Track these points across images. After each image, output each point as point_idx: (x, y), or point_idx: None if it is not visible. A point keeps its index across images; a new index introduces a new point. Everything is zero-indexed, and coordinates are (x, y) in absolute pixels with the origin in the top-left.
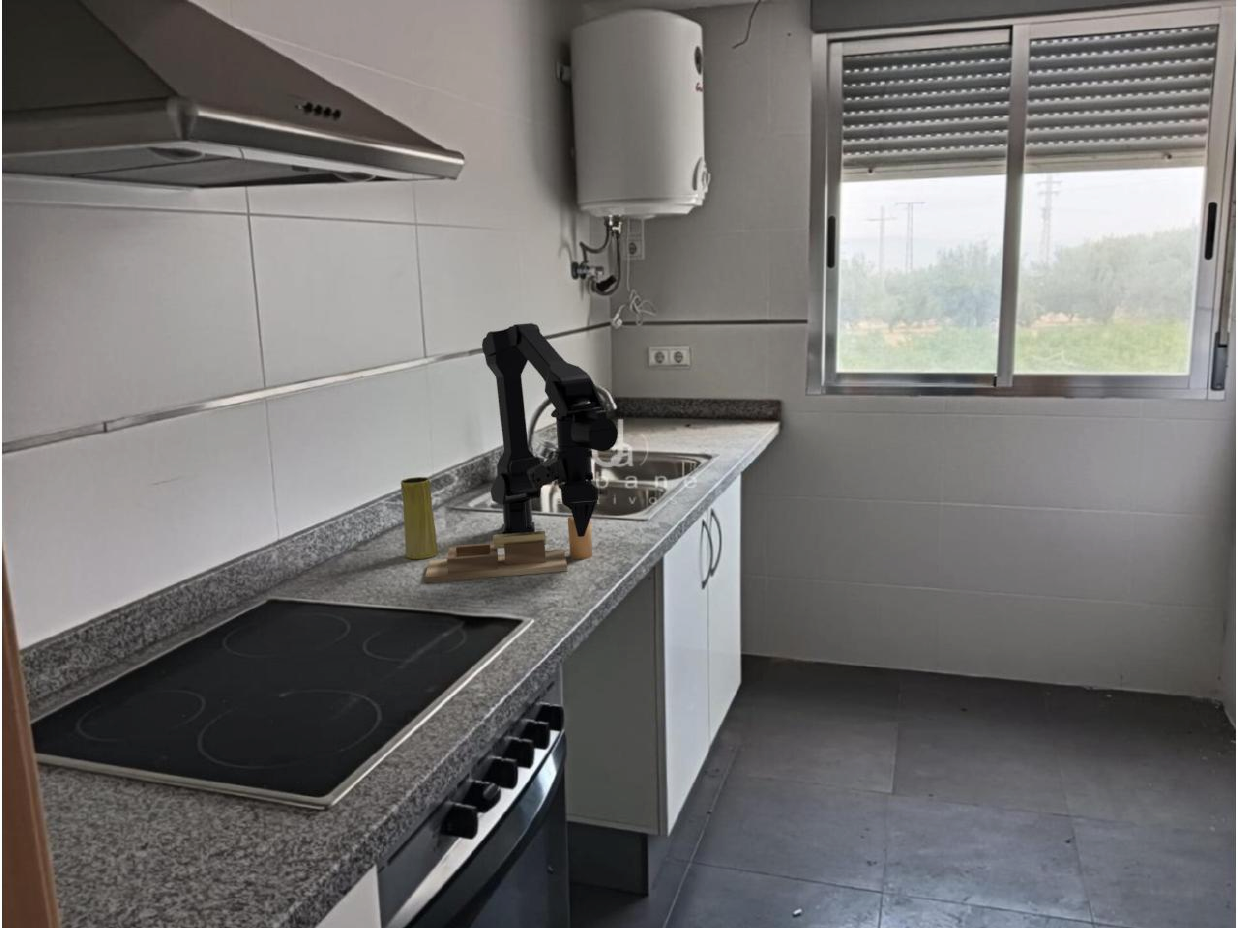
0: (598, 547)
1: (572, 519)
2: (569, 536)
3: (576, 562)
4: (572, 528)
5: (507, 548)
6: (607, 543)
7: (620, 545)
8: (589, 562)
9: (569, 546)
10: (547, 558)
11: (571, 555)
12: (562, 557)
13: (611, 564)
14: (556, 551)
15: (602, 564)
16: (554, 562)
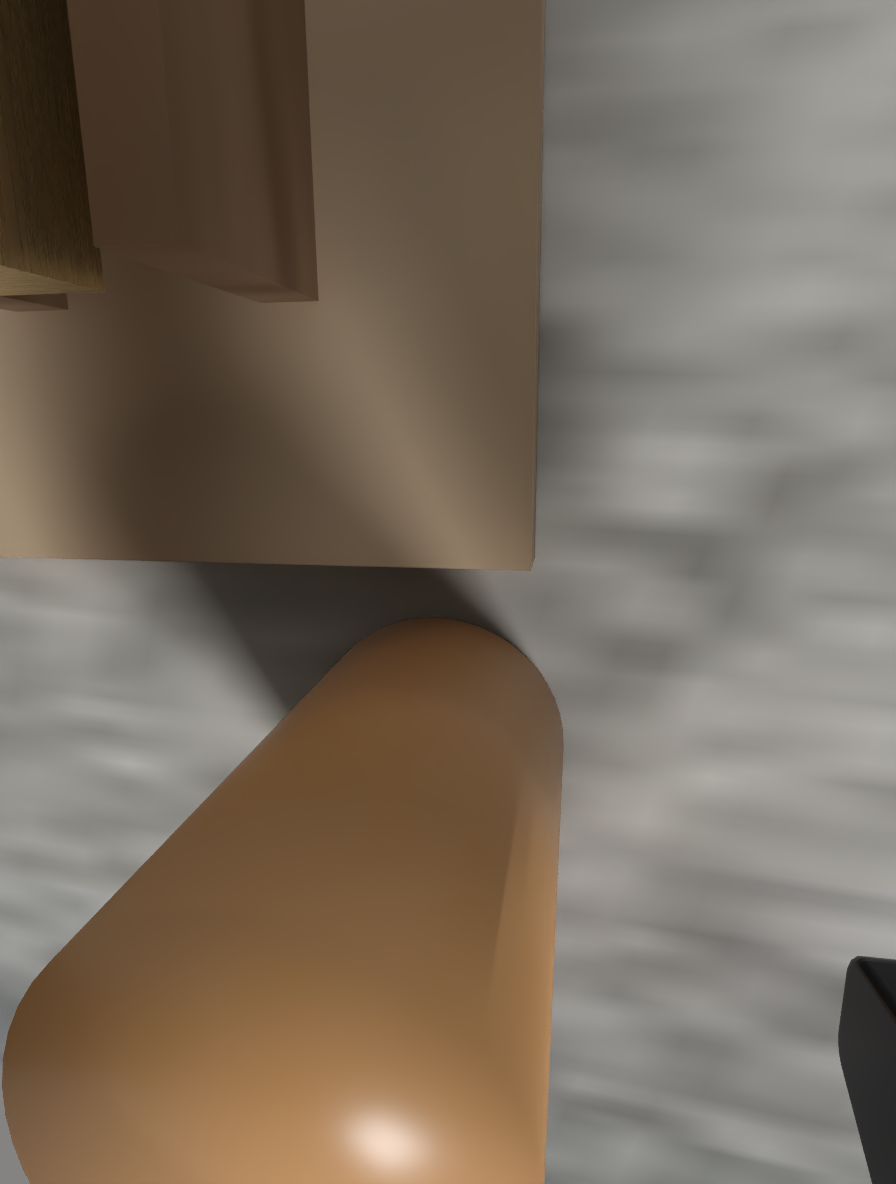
0: (717, 957)
1: (176, 1006)
2: (308, 724)
3: (211, 660)
4: (153, 856)
5: None
6: None
7: (708, 1160)
8: (188, 781)
9: (401, 657)
10: (175, 335)
11: (370, 638)
12: (182, 527)
13: None
14: (461, 468)
15: (107, 879)
16: (6, 420)
